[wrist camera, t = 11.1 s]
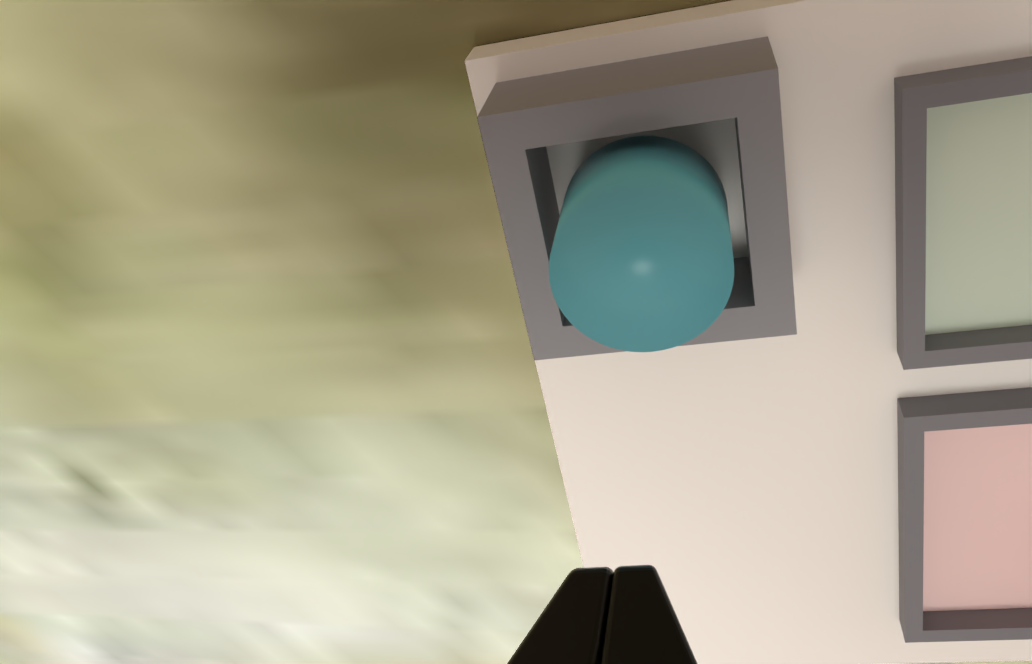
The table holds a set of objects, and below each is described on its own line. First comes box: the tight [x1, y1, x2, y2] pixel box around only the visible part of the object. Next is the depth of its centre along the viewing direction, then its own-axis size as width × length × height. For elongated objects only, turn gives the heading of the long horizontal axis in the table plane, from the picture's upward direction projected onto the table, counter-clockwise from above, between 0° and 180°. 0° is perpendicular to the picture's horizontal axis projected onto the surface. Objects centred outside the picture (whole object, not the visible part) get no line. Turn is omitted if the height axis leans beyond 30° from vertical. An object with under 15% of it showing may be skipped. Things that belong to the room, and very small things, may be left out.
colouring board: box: [465, 0, 1032, 664], centre depth 19 cm, size 17×17×3 cm
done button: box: [549, 136, 734, 352], centre depth 16 cm, size 3×3×2 cm
